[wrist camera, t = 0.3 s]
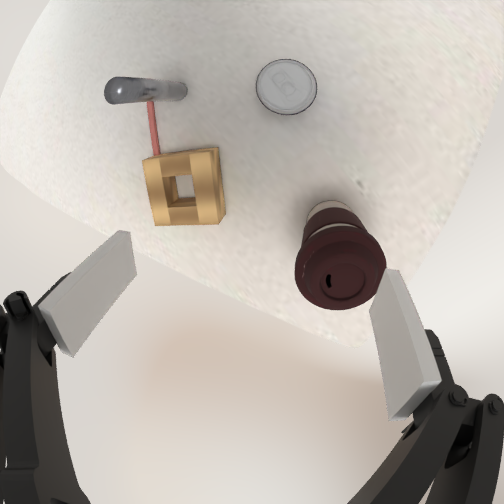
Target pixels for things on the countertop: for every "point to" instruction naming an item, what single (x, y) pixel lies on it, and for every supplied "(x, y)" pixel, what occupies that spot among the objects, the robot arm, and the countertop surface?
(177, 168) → the wooden square frame
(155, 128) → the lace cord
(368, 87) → the countertop surface
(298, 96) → the beverage can
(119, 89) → the grey capsule rod
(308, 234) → the coffee cup
